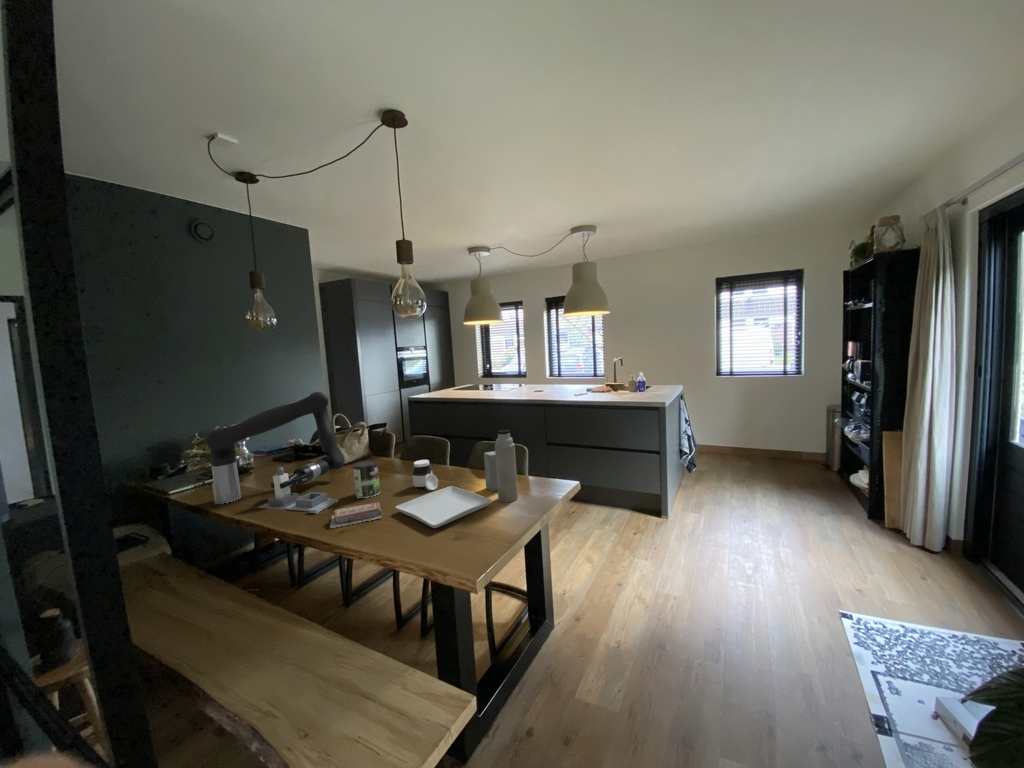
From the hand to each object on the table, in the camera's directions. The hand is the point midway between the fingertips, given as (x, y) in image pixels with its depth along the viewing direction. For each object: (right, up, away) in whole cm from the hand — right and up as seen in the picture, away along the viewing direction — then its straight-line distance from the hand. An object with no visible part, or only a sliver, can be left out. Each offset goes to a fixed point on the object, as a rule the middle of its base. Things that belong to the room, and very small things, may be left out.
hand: (276, 486), depth 170 cm
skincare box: (+93, -3, +6) cm, 93 cm away
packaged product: (+40, -9, -17) cm, 45 cm away
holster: (+1, -9, +3) cm, 9 cm away
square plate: (+73, -6, -15) cm, 75 cm away
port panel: (+16, -8, -2) cm, 18 cm away
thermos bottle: (+98, -3, -7) cm, 98 cm away
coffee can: (+36, -6, +9) cm, 37 cm away
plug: (+1, -8, +3) cm, 8 cm away
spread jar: (+61, -4, +13) cm, 62 cm away
